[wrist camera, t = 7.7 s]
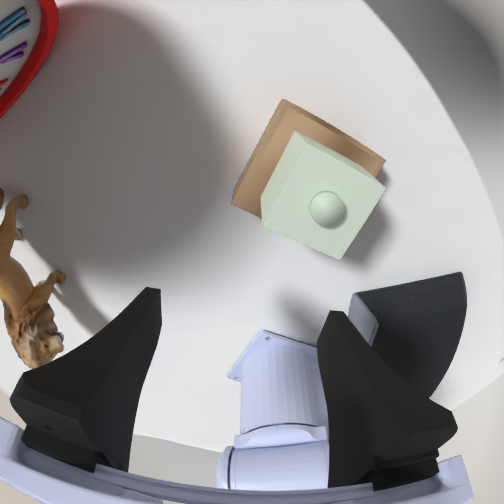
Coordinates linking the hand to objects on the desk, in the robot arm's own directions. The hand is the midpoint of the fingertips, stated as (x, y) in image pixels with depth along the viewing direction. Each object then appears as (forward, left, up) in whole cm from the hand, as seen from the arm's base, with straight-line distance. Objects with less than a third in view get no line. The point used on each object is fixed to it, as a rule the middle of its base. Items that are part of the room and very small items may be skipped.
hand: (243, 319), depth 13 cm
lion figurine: (+16, +11, -11) cm, 22 cm away
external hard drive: (-21, +7, -11) cm, 25 cm away
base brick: (-2, -5, -10) cm, 12 cm away
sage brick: (-2, -5, -8) cm, 9 cm away
